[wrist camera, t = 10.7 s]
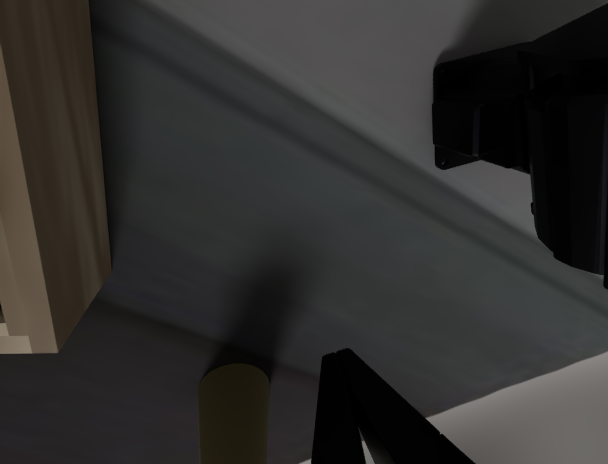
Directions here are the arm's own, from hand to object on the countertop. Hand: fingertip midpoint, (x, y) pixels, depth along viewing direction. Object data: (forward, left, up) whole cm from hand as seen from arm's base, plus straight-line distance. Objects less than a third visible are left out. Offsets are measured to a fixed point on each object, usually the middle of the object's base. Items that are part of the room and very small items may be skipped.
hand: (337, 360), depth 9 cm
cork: (+8, +15, -13) cm, 22 cm away
